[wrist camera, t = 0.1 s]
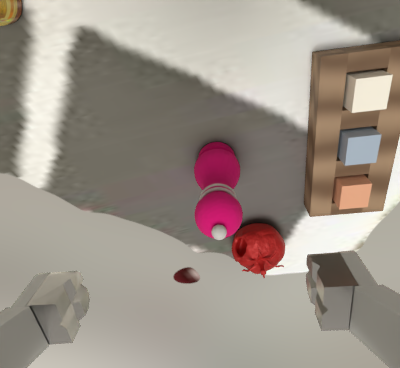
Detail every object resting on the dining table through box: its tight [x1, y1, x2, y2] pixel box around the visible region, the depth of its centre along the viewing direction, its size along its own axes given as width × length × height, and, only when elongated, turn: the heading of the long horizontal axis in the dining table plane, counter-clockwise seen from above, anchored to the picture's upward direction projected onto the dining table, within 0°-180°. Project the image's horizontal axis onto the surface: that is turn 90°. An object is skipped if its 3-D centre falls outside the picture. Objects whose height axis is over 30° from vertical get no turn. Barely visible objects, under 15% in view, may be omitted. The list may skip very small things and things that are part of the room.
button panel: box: [304, 40, 400, 217], centre depth 47 cm, size 26×12×4 cm, turn 8°
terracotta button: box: [332, 174, 372, 209], centre depth 49 cm, size 4×4×4 cm
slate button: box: [337, 126, 382, 166], centre depth 45 cm, size 4×4×4 cm
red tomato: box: [232, 223, 285, 277], centre depth 56 cm, size 10×10×9 cm
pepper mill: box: [194, 142, 243, 240], centre depth 43 cm, size 7×7×20 cm
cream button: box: [343, 69, 393, 113], centre depth 41 cm, size 4×4×4 cm
